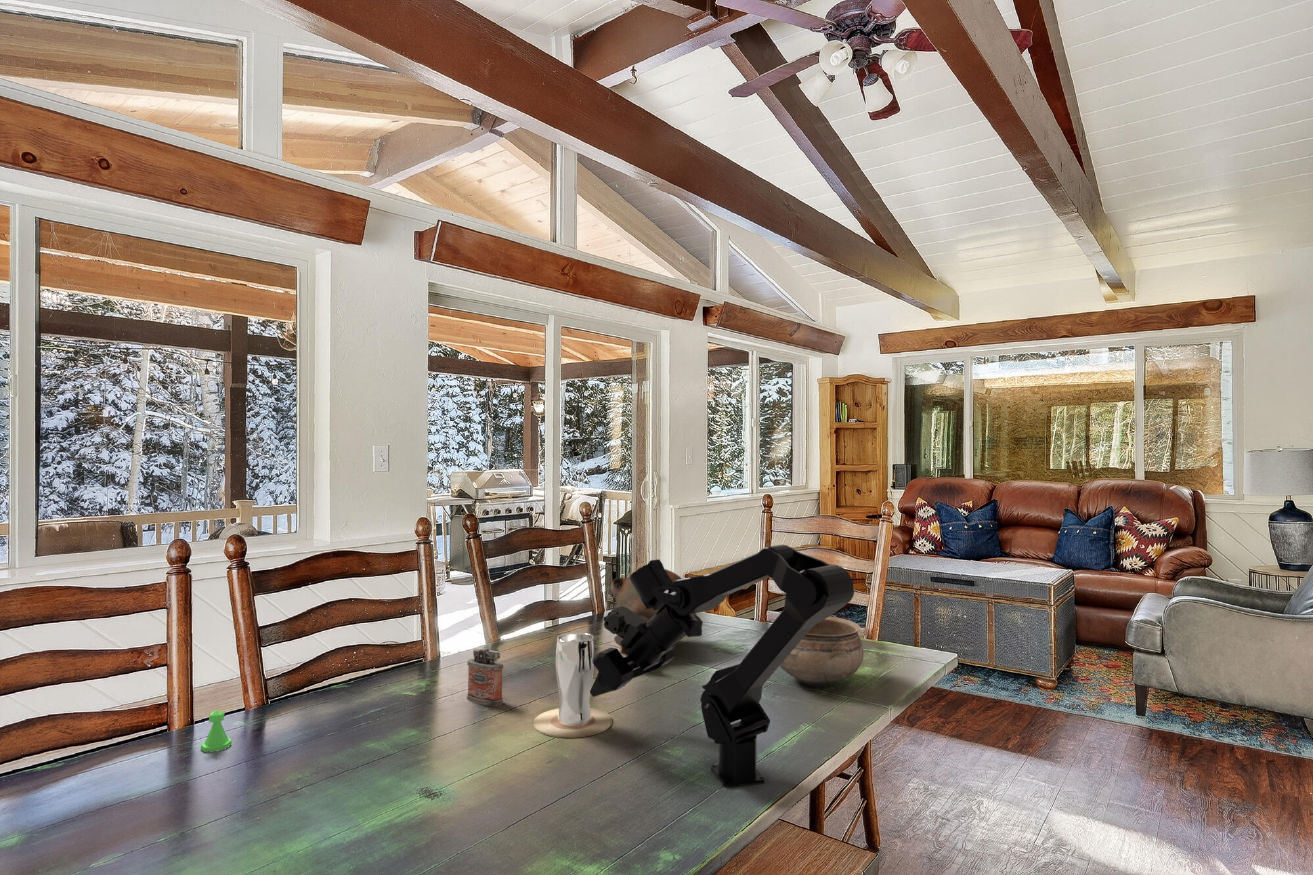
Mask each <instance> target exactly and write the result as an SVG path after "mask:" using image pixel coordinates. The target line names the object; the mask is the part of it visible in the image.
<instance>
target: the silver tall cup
mask: <svg viewBox="0 0 1313 875" xmlns="http://www.w3.org/2000/svg"><path fill="white" fill-rule="evenodd" d="M594 639H595V638H594V635H593V634H591V633H587V632H578V631H577V632H565V633H562V634H559V635H558V636H557V638H556V649H555V673H556V674H555V675H556V681H557V682H556V683H557V688H558V694H559V707H558V708H559V713H558V719H557V721H558V723H559V724H560V725H563V726H566V727H580V726H584V725H587V724H589V723H590V722H591V712H590V708H591V706H590V705H591V704H590V696H591V693H590V690H591V688H592V686H593V679H594V673H595V665H594V664H593V658H594V657H595V656H596V655H595V643H594V642H595V641H594Z"/></svg>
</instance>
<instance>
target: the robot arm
mask: <svg viewBox="0 0 1313 875" xmlns="http://www.w3.org/2000/svg"><path fill="white" fill-rule="evenodd" d="M630 575H631V576H630ZM630 575H629V576H630V579H629V580H630V583H631V584H632V586H633V588H634V589H635V591H636V593H637V594H638V596H639V598H640V599H641V601H642V603H643V605H644V606H645V608H646V609H651V608H653V610H659V609H660V610H659V611H658V612H657V613H656V614H655V615H654V616H653V617H652V618H651V619H650V620H649V621H648V622H645V621H644V620H643V619H642V618H641V617H640V616H639V615H637V614H636V613H634V612H633V611H631V610H630V609H628V608H627V607H624V606H621V607H618V608H616V607H615V608H612V609H610V611H609V612H608V613H607V614H606V616H603V621H604V622H603V627H604V629H606V630H607V631H609V633H611V634H612V635H616V636H617V635H618V636H619V637H621V638H623V640H622V641H621V642H620V643H621V644H622V646H623V647H624V648H626V649H627V650H626V652H627V654H628V656H627V657H626V656H625V657H624V655H623V654H621V653H620V649H618V648H615V647H608V648H606V649H604V650H601V651H600V652H598V653H597V654H596V655H595V657H594V658H593V664H594V668H596V670H597V671H598V672H597V674H596V677H595V680H594V682H593V683H592V685H591V690H590V696H592V697H594V698H595V697H597V696H601V695H604V694H607V693H610V692H615V691H617V690H620V689H621V688H623V687H626V685H627V684H629V683H630V682H631V681H632V680H633V679H635V678H637V677H640V676H643V675H645V674H648V673H651V672H654V671H656V670H658V669H660V668H662V667H664V666H665V665H668V664H669V663H670V662H671V661H672V660H673V659H674V658H675V656H676V654H675V652H676V651H675V647H676V646H677V645H676V644H677V643H678V642H679V641H678V640H679V639H680V638H681V637H682V636H683V635H684V634H686V637H688V638H693V637H694V638H695V637H702V635H703V629H702V628H703V627H702V628H701V623H702V622H703V620H702V619H701V620H702V621H701V620H697V619H695V617H694V616H693V614H694V613H696V614H699V613H703V612H708V611H712V610H713V609H715V608H716V607H718V606H720V604H722V603H723V602H725V600H726V598H727V597H729V595H731V594H733V593H735V592H737V591H739V590H743V589H745V588H747V587H750V586H752V585H755V584H757V583H760V582H762V581H764V580H767V579H770V578H771V579H772V580H773V582H774V583H775V585H776V587H778V589H779V590H780V591H782V592H783V593H785V598H784V599H785V600H784V607H783V609H782V611H781V612H780V614H778V616H777V617H776V619H774V621H773V622H772V623H771V624H770V626H769V627H768V628H767V630H766V631H765V632H764V633H763V635H762V636H761V637H760V638H759V640H758V641H757V642H756V643H755V644H754V646H752V648H751V649H750V650H749V652H748V653H747V654H746V655H745V657H744V658H743V659H742V661H741V662H740V663H738V664H735V665H731V666H728V667H725V668H721V669H717V670H715V671H714V673H712V675H711V677H710V679H709V681H708V682H706V683H705V684H703V685H702V686H701V688H702V689H704V691H703V692H702V693H701V696H700V699H699V701H700V709H701V713H702V718H703V722H704V726H705V731H706V735H707V738H708V739H711V740H713V741H714V744H717V745H718V764H717V763H716V764H711V765H710V770H711V771H712V773H713V774H714V775H715V776H716V778H717V779H718V780H719V782H720V784H722V786H723V787H726V788H727V787H736V786H747V785H753V784H760V783H765V781H766V778H765V777H764V775H762V773H761V772H760V771H759V770H758V769H757V749H758V748H757V746H758V745H757V744H758V743H757V739H758V738H757V737H758V736H759V735H760V734H762V733H764V734H765V733H767V732H768V729H769V726H770V723H771V719H770V717H769V716H768V714H767V712H766V711H765V709H764V708H763V706H762V705H761V704H760V701H761V700H762V693H763V686H764V685H765V683H766V682H767V681H768V680H770V677H771V676H772V675H773V674H774V673H775V672H776V670H777V669H779V668H780V665H781V663H782V662H783V661H784V660H785V659H786V658H787V656H788V655H789V654H790V653H791V652H792V651H793V649H794V648H795V647H796V646H797V645H798V644H799V642H800V641H801V640H802V639H803V638H804V637H805V635H806V634H807V633H808V632H809V631H810V630H811V628H812V627H813V626H815V625H816V624H818V623H819V622H821V621H823V620H824V619H826V618H828V617H829V616H830V617H832V616H833V615H835V614H836V613H837V612H839V611H840V610H841V609H843V608H844V607H845V606H847V604H849V603H850V602H851V601H852V599H853V597H854V595H855V589H854V582H853V579H852V576H851V575H850V574H849V572H848V571H847V570H846V569H845V568H844V567H842V566H840V565H837V564H829V563H827V562H826V561H823V560H822V559H818V558H816V557H814V556H810V555H808V554H806V553H802V552H800V551H798V550H796V549H795V548H793V547H791V546H788V545H787V544H779V545H778V544H777V545H772V546H771V545H770V546H765V547H762V549H761V550H759V551H757V552H756V553H754V554H752V555H749V556H747V557H744V558H742V559H741V560H738V561H736V562H733V563H731V564H729V565H726V566H724V567H723V568H720V569H718V570H716V571H713V572H711V573H709V574H708V573H707V574H700V575H695V576H690V577H685V578H681V579H678V580H675V581H674V582H672V580H671V579H670V577H669V575H668V574H667V572H666V571H665V567H664V564H663V563H662V562H661V559H657V558H656V559H650V561H649V562H648V563H647V564H644V565H643V566H641V567H640V568H638V569H637V570H635V571H633V572H632V573H631V574H630ZM677 641H678V642H677ZM676 642H677V643H676ZM675 643H676V644H675ZM739 720H740V721H739Z"/></svg>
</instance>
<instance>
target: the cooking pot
mask: <svg viewBox="0 0 1313 875" xmlns="http://www.w3.org/2000/svg"><path fill="white" fill-rule="evenodd" d="M860 630H861V626H860V625H859V624H858V623H857V622H854V621H852V620H849V619H846V618H841V617H835V616H829V617H828V618H826V619H824V620H823V621H821V622H819V623H818V624H816V625H815V626H813V627H812V628H811V630H810V631H809V632H808V633H807V634H806V635H805V637H804V638H803V639H802V640H801V641H800V642H799V644H798V645H797V646H796V647H795V648H794V649H793V651H792V652H791V653H790V654H789V655H788V656H787V658H786V659H785V660H784V661H783V662H782V663H781V665H780V666H779V668H780V669H782V671H784V672H785V673H787V674H788V675H790V676H791V677H793V678H794V679H796V680H798V681H799V682H801V683H802V684H803V685H806V686H809V687H812V688H813V687H814V688H828V687H832V686H833V685H834V684H837V683H840V682H843V681H844V680H845V679H848V678H850V677H852V676H853V675H854V674H855V673H857V671H858V670H859V669H860V667H861V665H862V664H863V661H864V657H865V656H864V654H865V653H864V652H865V651H864V646H863V642H862V640H861V637H860V635H859V633H858V632H859V631H860Z"/></svg>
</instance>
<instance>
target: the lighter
mask: <svg viewBox="0 0 1313 875" xmlns="http://www.w3.org/2000/svg"><path fill="white" fill-rule="evenodd" d="M472 652H473V653H472V655H473V658H469V659H467V662H466V664H467V666H468V667H467V668H468V669H467V673H468V674H467V679H468V680H467V694H466V700H467V701H469V702H473V703H476V704H478V705H484V706H493V707H495V706H496V707H497V706H500V705H502V704H504V697H503V669H504V663H503V662H500V661H496V660H499V659H500V658H501V653H500V651H496V650H492V649H491V650H490V649H489V648H488V647H484V648H482V649H481V648H474V649H473V650H472Z"/></svg>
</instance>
